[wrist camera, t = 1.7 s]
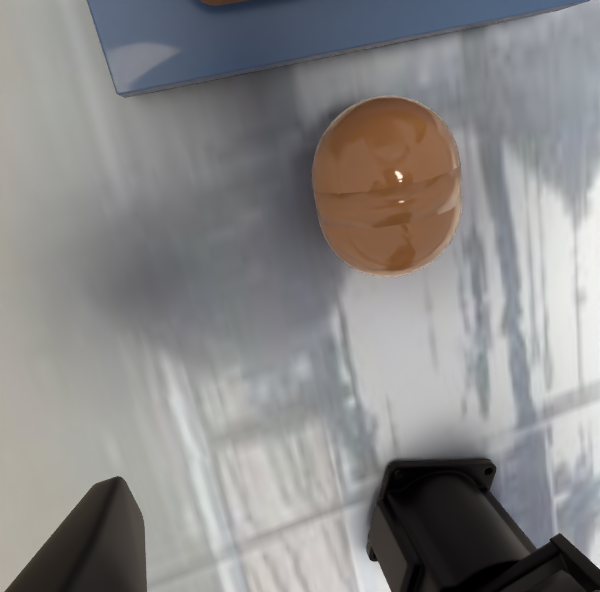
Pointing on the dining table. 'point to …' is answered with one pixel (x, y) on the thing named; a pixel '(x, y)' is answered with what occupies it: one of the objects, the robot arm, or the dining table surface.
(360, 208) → the egg
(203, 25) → the brush
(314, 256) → the dining table surface
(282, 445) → the dining table surface
